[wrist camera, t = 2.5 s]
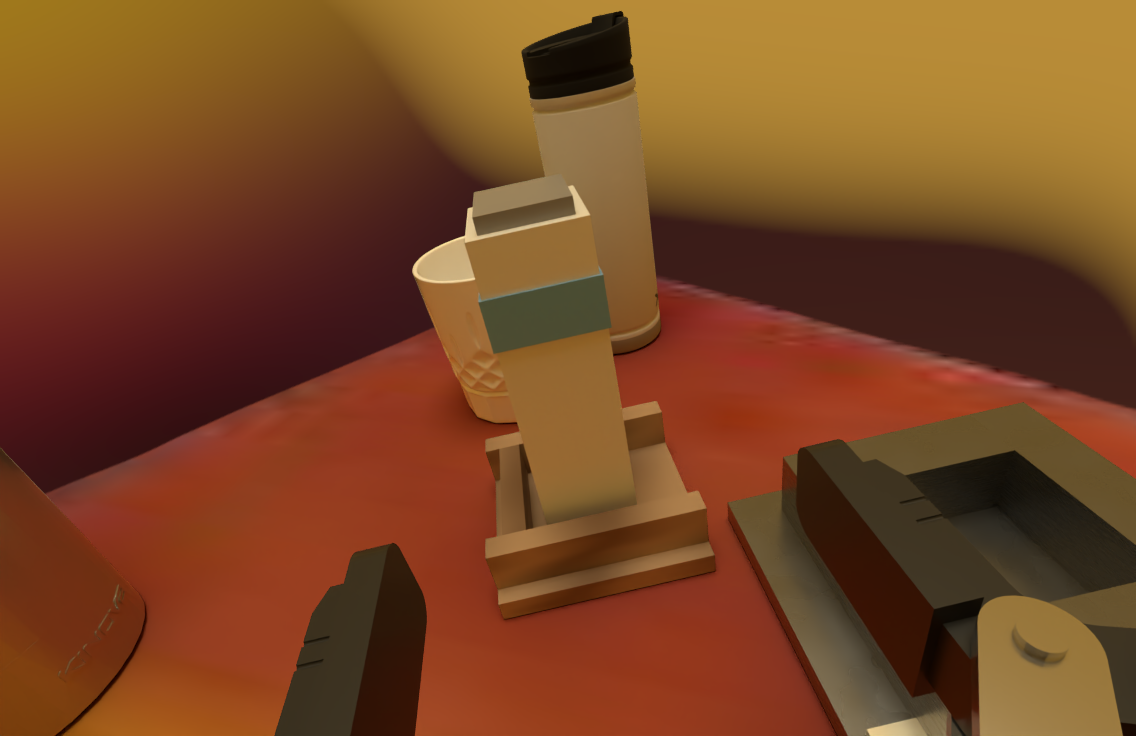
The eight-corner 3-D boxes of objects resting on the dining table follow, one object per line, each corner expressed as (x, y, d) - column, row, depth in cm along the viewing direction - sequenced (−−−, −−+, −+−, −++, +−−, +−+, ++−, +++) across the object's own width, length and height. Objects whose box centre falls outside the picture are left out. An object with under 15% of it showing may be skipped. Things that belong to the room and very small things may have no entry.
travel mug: (681, 322, 41) (655, 3, 30) (622, 365, 37) (569, 23, 27) (619, 304, 45) (577, 19, 35) (560, 341, 42) (494, 38, 31)
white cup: (496, 357, 42) (459, 229, 36) (594, 364, 38) (568, 224, 33) (439, 423, 36) (383, 281, 30) (548, 438, 32) (507, 282, 27)
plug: (550, 544, 24) (455, 225, 17) (542, 479, 28) (461, 192, 20) (642, 524, 24) (590, 195, 17) (622, 461, 28) (572, 167, 20)
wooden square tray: (504, 619, 23) (485, 573, 21) (499, 473, 31) (485, 430, 29) (715, 570, 23) (712, 521, 21) (658, 437, 31) (653, 393, 29)
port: (893, 847, 15) (915, 782, 13) (728, 518, 25) (725, 452, 23) (1388, 729, 15) (1490, 647, 13) (1025, 450, 25) (1049, 378, 23)
